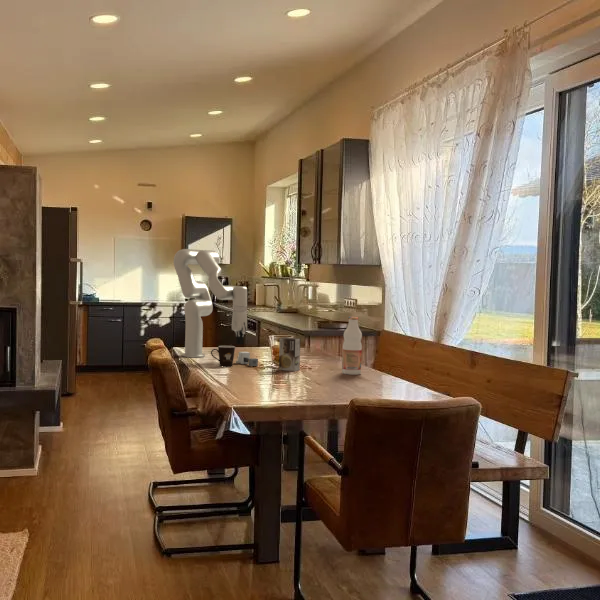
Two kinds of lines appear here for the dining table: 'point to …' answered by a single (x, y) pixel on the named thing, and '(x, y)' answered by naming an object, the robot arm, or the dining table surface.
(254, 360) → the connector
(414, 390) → the dining table surface
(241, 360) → the white cube on rod
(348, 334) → the fruit juice
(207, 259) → the robot arm
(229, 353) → the coffee mug
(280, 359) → the coffee box
